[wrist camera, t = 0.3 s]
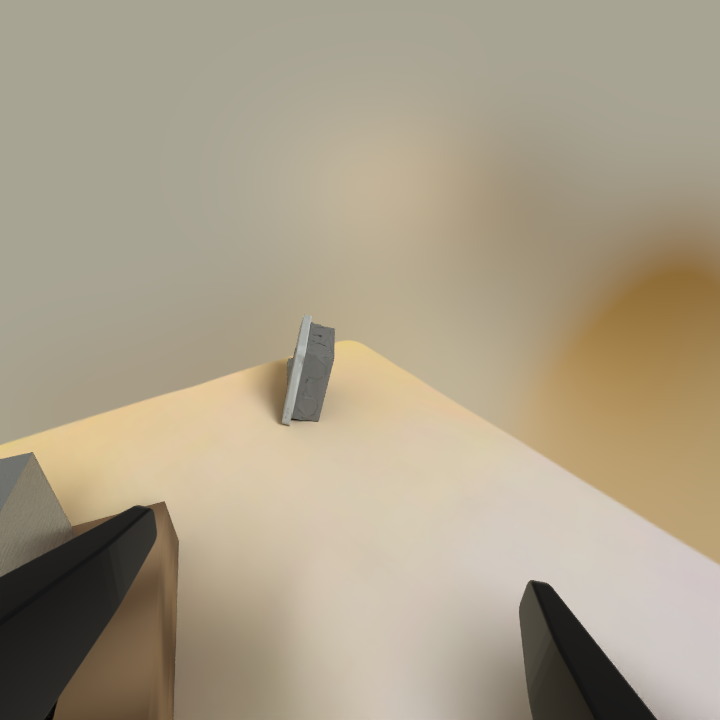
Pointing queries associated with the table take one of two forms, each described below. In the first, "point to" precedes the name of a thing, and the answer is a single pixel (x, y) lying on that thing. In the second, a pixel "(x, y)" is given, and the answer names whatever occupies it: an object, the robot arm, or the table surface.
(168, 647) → the walnut slot box
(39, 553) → the gray rectangular metal block
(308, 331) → the electrical switch
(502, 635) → the table surface
